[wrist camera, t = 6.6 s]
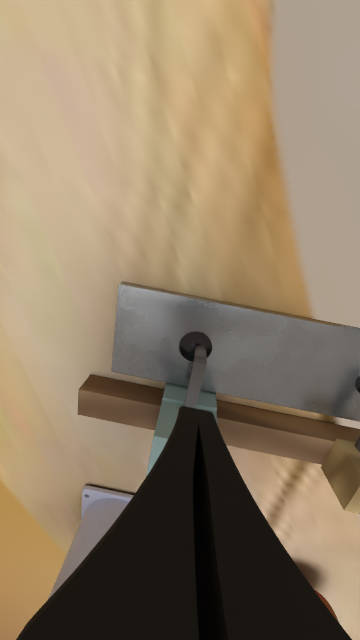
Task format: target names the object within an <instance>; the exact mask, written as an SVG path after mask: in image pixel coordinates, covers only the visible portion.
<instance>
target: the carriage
mask: <svg viewBox="0 0 360 640" xmlns="http://www.w3.org/2000/svg"><path fill="white" fill-rule="evenodd" d="M206 359H207V356H206V348H205V346H203V345H198V346H196V348H195V358H194V362H193V367H192V371H191V376H190V380H189V384H188V387H186V386H181V385H176V384H171V383H166V386H165V390H164V394H163V398H162V403H161V407H160V412H159V416H158V420H157V424H156V428H155V433H154V437H153V443H152V448H151V454H150V459H149V465H148V470H147V475H148V474H149V472H150V471H151V469H152V467H153V466H154V464H155V462H156V460H157V459H158V457H159V455H160V454H161V452H162V450H163V448H164V446H165V444H166V442H167V440H168V438H169V436H170V434H171V432H172V430H173V427H174V425H175V422H176V420H177V416H178V411H179V407H181V406H186V407H191V408H196V409H201V410H206V411H211V412H212V413H213V414H214V417H215V419H216V422H217V413H216V411H217V402H216V393H215V392H211V391H206V390H201V385H202V381H203V377H204V373H205V369H206V365H207V360H206ZM217 425H218V423H217ZM146 477H147V476H146Z"/></svg>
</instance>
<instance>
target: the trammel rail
mask: <svg viewBox="0 0 360 640" xmlns="http://www.w3.org/2000/svg"><path fill="white" fill-rule="evenodd" d="M163 394H164V390H163V389H159V388H154V387H149V386H144V385H139V384H134V383H129V382H124V381H119V380H114V379H109V378H104V377H99V376H94V375H90V376H89V377H88V379H87V380H86V381H85V382H84V383H83V385H82V386H81V387H80V388H79V393H78V415H83V416H88V417H93V418H98V419H103V420H108V421H113V422H117V423H122V424H127V425H132V426H137V427H142V428H147V429H151V430H155V428H156V424H157V420H158V416H159V412H160V407H161V403H162V398H163ZM216 402H217V411H216V413H217V423H218V427H219V430H220V432H221V435H222V437H223V439H224V442H225V444H226V445H229V446H234V447H239V448H244V449H249V450H253V451H258V452H263V453H268V454H273V455H278V456H283V457H287V458H292V459H297V460H302V461H307V462H312V463H317V464H322V467H321V468H322V470H323V472H324V474H325V476H326V478H327V479H328V481H329V483H330V485H331V487H332V489H333V491H334V493H335V494H336V496H337V498H338V500H339V502H340V504H341V506H342V507H343V509H344V510H345V511H349V512H354V513H359V514H360V429H356V428H351V427H346V426H341V425H337V424H332V423H327V422H322V421H317V420H312V419H307V418H302V417H297V416H292V415H287V414H282V413H277V412H272V411H267V410H262V409H257V408H252V407H248V406H243V405H238V404H233V403H228V402H223V401H218V400H216Z"/></svg>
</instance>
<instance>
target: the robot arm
mask: <svg viewBox="0 0 360 640" xmlns="http://www.w3.org/2000/svg"><path fill="white" fill-rule="evenodd" d="M16 640H352V639H351V638H350V637H349V635H348V634H347V633H346V632H345V630H344V629H343V628H342V626H341V625H340V624H339V622H338V621H337V620H336V618H335V617H334V616H333V615H332V613H331V612H330V611H329V609H328V608H327V607H326V605H325V604H324V603H323V601H322V600H321V599H320V597H319V596H318V595H317V593H316V592H315V590H314V589H313V588H312V586H311V585H310V583H309V582H308V581H307V579H306V578H305V576H304V575H303V574H302V572H301V571H300V569H299V568H298V567H297V565H296V564H295V562H294V561H293V560H292V558H291V557H290V555H289V554H288V553H287V551H286V550H285V548H284V547H283V545H282V544H281V542H280V541H279V539H278V537H277V536H276V534H275V533H274V531H273V530H272V528H271V527H270V525H269V524H268V522H267V520H266V519H265V517H264V515H263V514H262V512H261V511H260V509H259V507H258V506H257V504H256V502H255V500H254V499H253V497H252V495H251V493H250V492H249V490H248V488H247V486H246V484H245V482H244V481H243V479H242V477H241V475H240V473H239V471H238V469H237V467H236V465H235V463H234V461H233V459H232V457H231V455H230V453H229V451H228V448H227V446H226V444H225V442H224V439H223V437H222V435H221V432H220V430H219V427H218V425H217V422H216V419H215V417H214V414H213V413H212V412H211V411H206V410H201V409H196V408H191V407H186V406H181V407H179V411H178V416H177V420H176V422H175V425H174V427H173V430H172V432H171V434H170V436H169V438H168V440H167V442H166V444H165V446H164V448H163V450H162V452H161V454H160V455H159V457H158V459H157V460H156V462H155V464H154V466H153V467H152V469H151V471H150V472H149V474H148V475H147V477H146V478H145V480H144V481H143V483H142V484H141V486H140V487H139V489H138V490H137V492H136V493H135V495H130V494H126V493H121V492H116V491H111V490H107V489H102V488H97V487H93V486H85V487H84V489H83V491H82V511H81V523H80V525H79V527H78V530H77V532H76V534H75V537H74V539H73V542H72V544H71V546H70V549H69V551H68V553H67V556H66V558H65V560H64V563H63V565H62V568H61V570H60V572H59V575H58V577H57V579H56V582H55V584H54V586H53V589H52V591H51V593H50V596H49V598H48V601H47V602H46V603H45V604H44V605H43V606H42V607H41V608H40V609H39V611H37V613H36V614H35V615H34V616H33V617H32V618H31V619H30V621H29V622H28V623H27V624H26V626H25V627H24V629H23V630H22V632H21V633H20V635H19V636H18V638H17V639H16Z"/></svg>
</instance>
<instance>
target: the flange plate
mask: <svg viewBox="0 0 360 640" xmlns="http://www.w3.org/2000/svg"><path fill="white" fill-rule="evenodd" d="M198 345H203V346H205V348H206V356H207V359H206V360H207V365H206V369H205V373H204V377H203V381H202V385H201V390H206V391H211V392H216V393H221V394H226V395H231V396H236V397H241V398H246V399H251V400H256V401H261V402H266V403H270V404H275V405H280V406H285V407H290V408H295V409H300V410H305V411H310V412H315V413H320V414H325V415H330V416H335V417H340V418H345V419H350V420H355V421H360V328H357V327H351V326H346V325H341V324H336V323H331V322H325V321H321V320H315V319H310V318H305V317H300V316H295V315H290V314H285V313H279V312H274V311H269V310H264V309H259V308H254V307H248V306H243V305H238V304H233V303H228V302H223V301H218V300H212V299H207V298H202V297H197V296H192V295H187V294H181V293H176V292H171V291H166V290H161V289H156V288H151V287H145V286H140V285H135V284H130V283H125V282H122V283H120V284H119V291H118V303H117V314H116V326H115V337H114V349H113V360H112V372H117V373H122V374H127V375H132V376H137V377H142V378H147V379H151V380H156V381H161V382H166V383H171V384H176V385H181V386H186V387H188V384H189V380H190V376H191V371H192V367H193V362H194V358H195V348H196V346H198Z"/></svg>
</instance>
